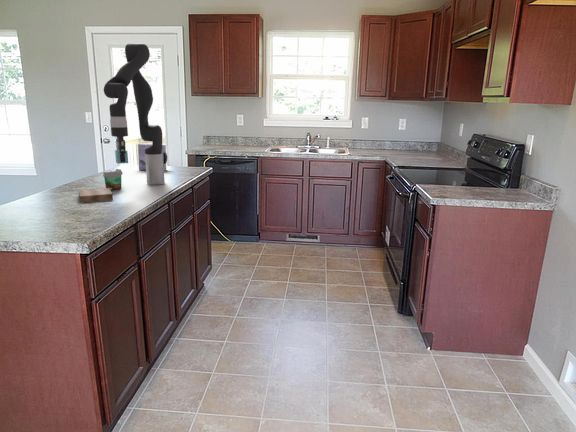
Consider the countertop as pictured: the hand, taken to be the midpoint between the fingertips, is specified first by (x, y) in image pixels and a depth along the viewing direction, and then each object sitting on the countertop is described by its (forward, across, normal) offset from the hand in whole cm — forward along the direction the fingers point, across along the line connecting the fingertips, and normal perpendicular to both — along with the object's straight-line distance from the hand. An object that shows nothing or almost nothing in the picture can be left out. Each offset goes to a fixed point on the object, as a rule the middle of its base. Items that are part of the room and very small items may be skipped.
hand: (122, 161), depth 206 cm
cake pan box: (+18, +76, -30) cm, 83 cm away
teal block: (+1, 0, 0) cm, 1 cm away
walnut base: (+17, 0, +14) cm, 22 cm away
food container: (+18, +18, +1) cm, 25 cm away
